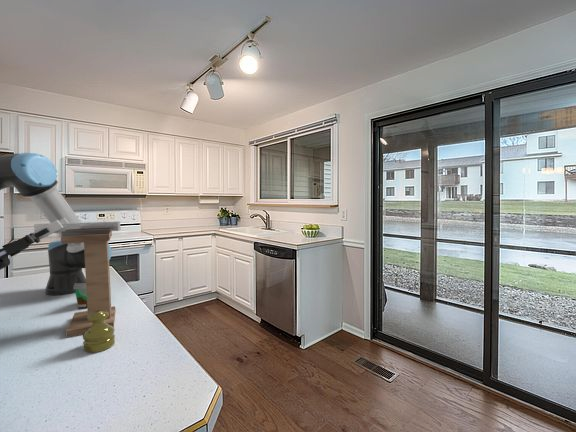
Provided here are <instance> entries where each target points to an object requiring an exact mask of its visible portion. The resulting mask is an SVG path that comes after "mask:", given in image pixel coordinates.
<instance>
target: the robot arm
mask: <svg viewBox="0 0 576 432" xmlns="http://www.w3.org/2000/svg"><path fill="white" fill-rule="evenodd" d="M57 173H58V170H57V166H56V165H55V163H54V162H53V161H52V160H51V159H49V158H48V157H47V156H46V155H42V154H39V153H35V152H34V153H33V152H20V153H7V154H6V153H4V154H0V191H1V190H5V189H8V188H15V189H16V190H17V192H18V193H19V194H20V196H22V198H26V199H30V200H31V202H33V203H34V204H35V206H36V207H37V208H38V210H39V211H40V212H41V213H42V214H43V216H44V217H45V219H47V221H48V222H49V223H50V224H48V225H46V226H44V227H42V228H40V229H38V230H37V231H33V232H30V233H29V234H26V235H25V236H23V237H21V238H18V239H17V240H14V241H13V240H12V241H11V242H8V243H6V244H4V245H2V246H1V247H2V248H0V271H1V270H3V269H5V268H7V267H8V266H10V265H11V260H10V258H9V256H10V257H11V258H12V257H14V256H16V255H18V254H20V253H21V252H22V251H24V250H26V249H28V248H29V246H31V245H32V244H34V243H36V244H38V243H40V242H41V240H42V239H44V238H47V237H49V236H51V235H52V234H54V233H53V232H55V231H57V230H59V229H61V228H63V226H62V225H61V224H60V223H82V221H81V220H80V219H79V217H78V215H76V213H75V211H74V210H73V209H72V207H71V206H70V205H69V204H68V202H67V201H66V199H65V198H64V196H63V195H62V193H61V192H60V191H59V189H58V188H57V186H58V183H59V182H58V180H57V177H58V175H57ZM58 234H59V236H60V238H61V237H62V233H58ZM47 248H48V249H47V252H48V254H47V255H48V264H49V265H48V267H49V278H48V281H47V283H46V286H45V294H46V295H48V296H61V295H68V294H73V293H76V292H75V289H73V288H74V283H84V282H86V275H85V273H83V269H85V255H84V243H69V244H61V239H60V240H55V241H50V242H49V243H48V247H47ZM108 249H109V261H110V260H111V258H112V253H113V252H112V246H111V245H110V244H109V243H108Z"/></svg>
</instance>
